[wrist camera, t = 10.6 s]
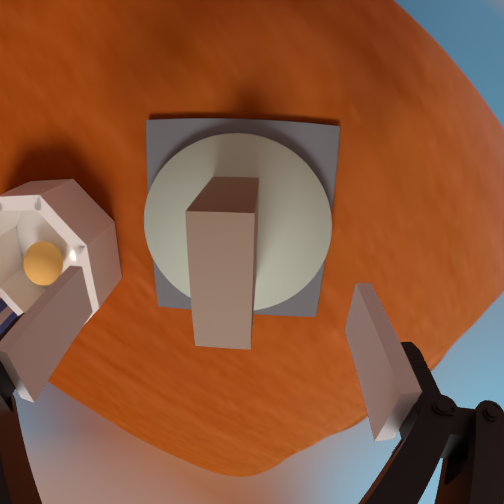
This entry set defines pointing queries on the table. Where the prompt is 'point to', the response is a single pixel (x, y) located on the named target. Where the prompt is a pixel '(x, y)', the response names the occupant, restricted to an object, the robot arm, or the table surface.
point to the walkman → (5, 315)
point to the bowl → (56, 239)
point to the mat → (285, 132)
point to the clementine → (43, 263)
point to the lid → (236, 230)
